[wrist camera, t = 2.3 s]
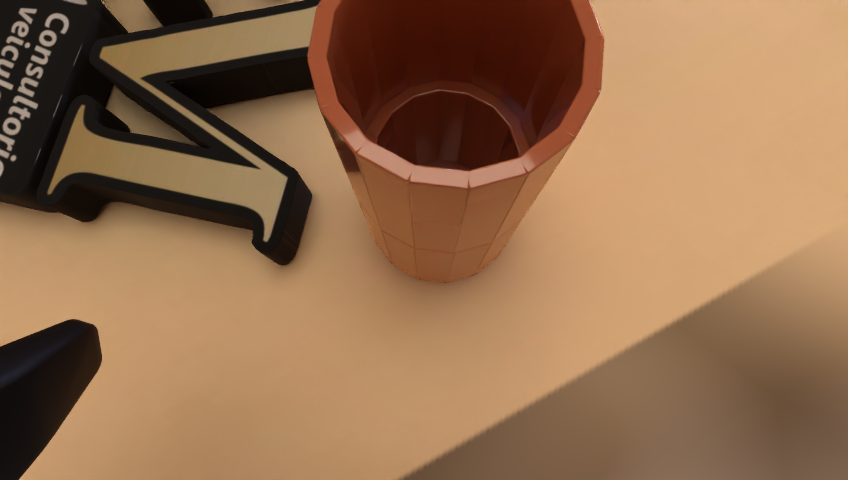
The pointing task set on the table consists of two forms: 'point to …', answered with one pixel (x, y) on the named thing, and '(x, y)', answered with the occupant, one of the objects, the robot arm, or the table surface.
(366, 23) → the terracotta tube
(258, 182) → the decorative sign
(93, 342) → the robot arm
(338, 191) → the table surface
